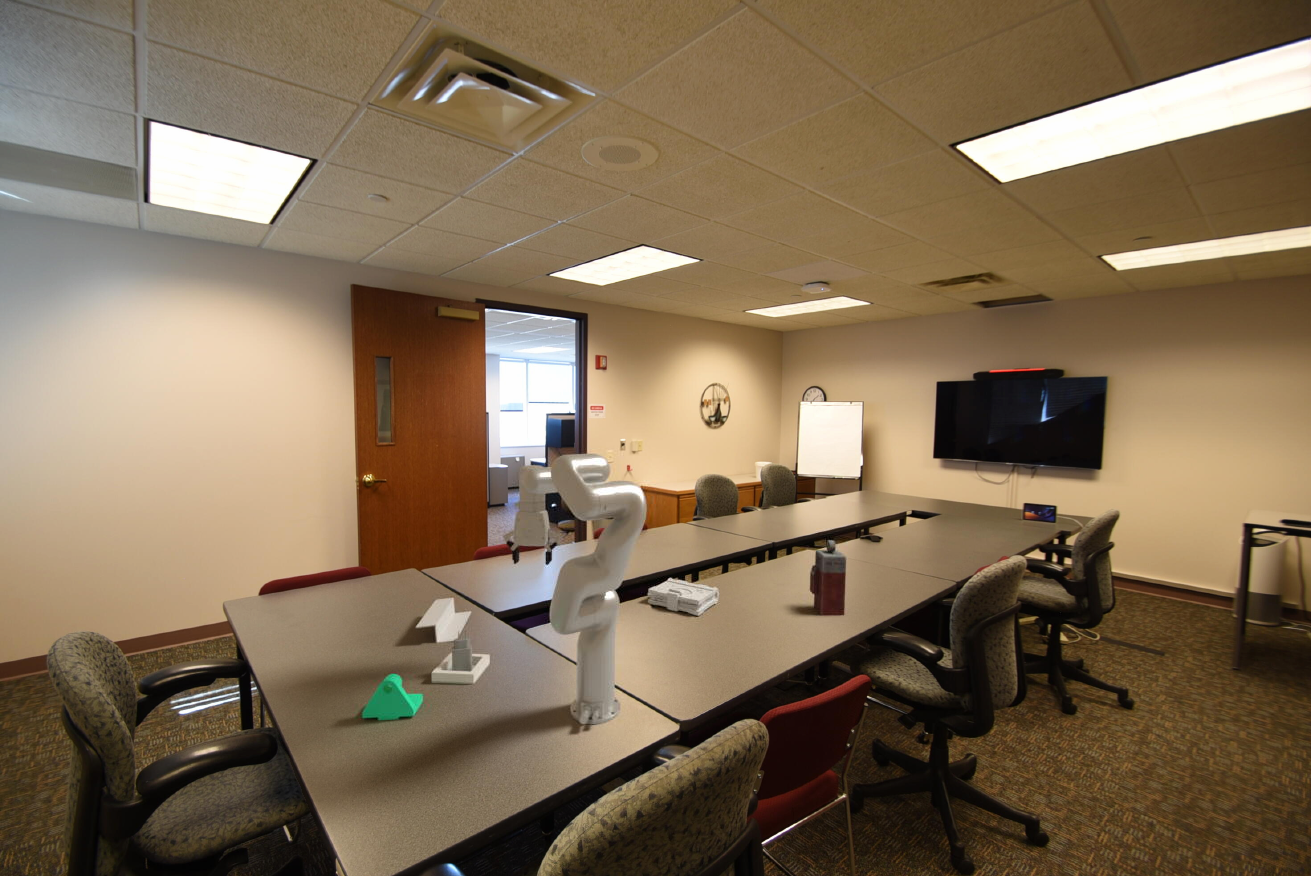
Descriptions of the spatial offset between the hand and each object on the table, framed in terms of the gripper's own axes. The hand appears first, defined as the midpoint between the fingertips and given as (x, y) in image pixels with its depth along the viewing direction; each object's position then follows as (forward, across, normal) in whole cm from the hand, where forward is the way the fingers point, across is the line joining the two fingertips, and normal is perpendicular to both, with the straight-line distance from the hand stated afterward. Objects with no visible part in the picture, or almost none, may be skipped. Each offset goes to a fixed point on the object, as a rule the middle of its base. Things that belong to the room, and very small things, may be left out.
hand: (532, 563), depth 161 cm
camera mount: (+31, -27, -29) cm, 50 cm away
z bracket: (+31, -37, +22) cm, 53 cm away
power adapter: (+30, -18, -9) cm, 36 cm away
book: (+31, +44, +55) cm, 77 cm away
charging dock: (+30, -18, -9) cm, 36 cm away
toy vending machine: (+31, +100, +49) cm, 116 cm away
